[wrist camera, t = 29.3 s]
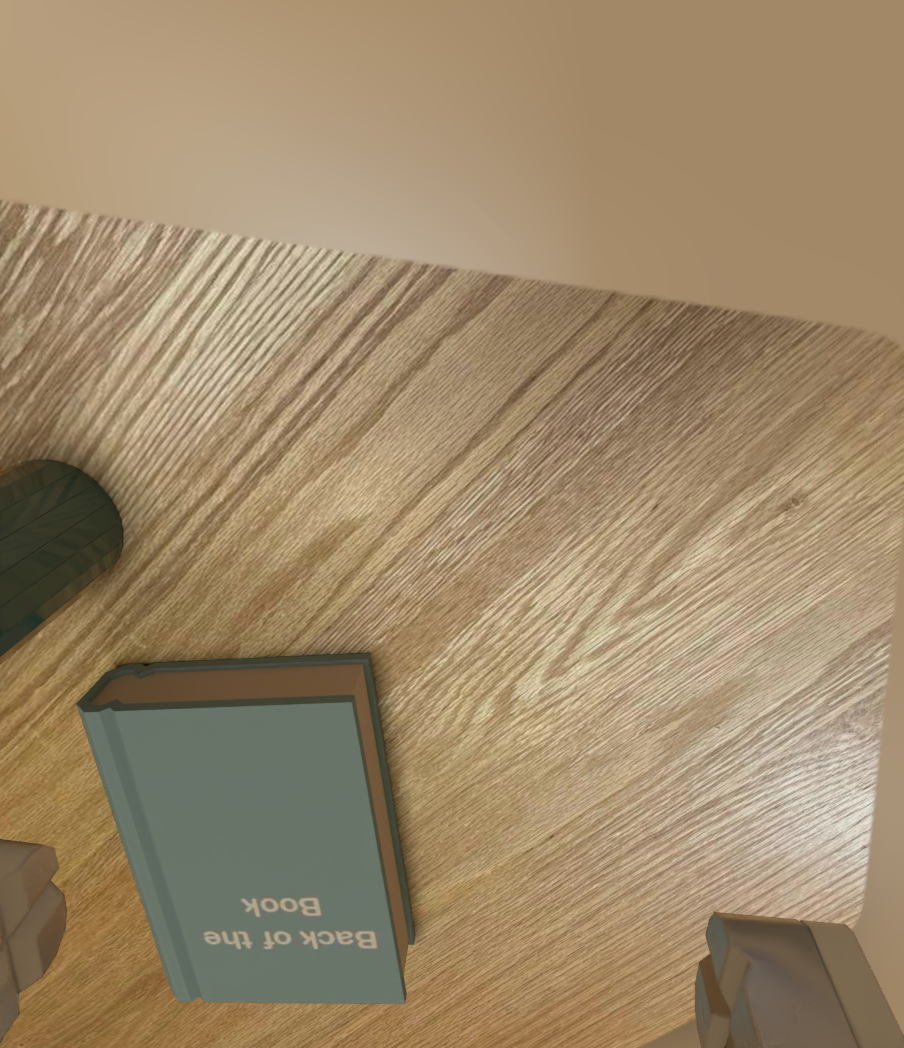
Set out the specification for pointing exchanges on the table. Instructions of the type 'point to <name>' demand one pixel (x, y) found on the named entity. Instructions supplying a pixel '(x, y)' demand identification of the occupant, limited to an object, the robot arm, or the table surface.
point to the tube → (50, 545)
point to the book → (258, 825)
